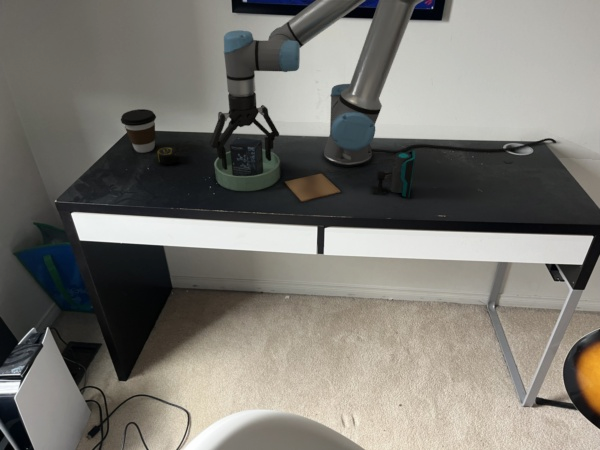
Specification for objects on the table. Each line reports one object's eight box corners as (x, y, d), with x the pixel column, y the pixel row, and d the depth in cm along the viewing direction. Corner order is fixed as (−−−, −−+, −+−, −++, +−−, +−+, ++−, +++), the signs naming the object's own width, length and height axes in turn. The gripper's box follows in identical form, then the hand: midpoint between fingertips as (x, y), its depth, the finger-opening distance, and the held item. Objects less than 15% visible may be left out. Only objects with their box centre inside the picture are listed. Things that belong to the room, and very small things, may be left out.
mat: (321, 174, 142) (321, 173, 142) (340, 192, 133) (340, 191, 133) (284, 182, 138) (284, 181, 138) (301, 201, 129) (301, 200, 129)
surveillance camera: (377, 147, 129) (414, 149, 128) (373, 185, 136) (409, 188, 135) (376, 156, 125) (415, 158, 123) (372, 195, 131) (409, 198, 130)
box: (232, 177, 141) (229, 144, 135) (240, 168, 145) (237, 136, 139) (256, 180, 139) (254, 147, 133) (263, 172, 143) (262, 139, 137)
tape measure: (180, 164, 149) (179, 153, 146) (158, 167, 147) (156, 156, 145) (178, 155, 154) (176, 145, 152) (157, 158, 152) (155, 148, 150)
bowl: (266, 156, 153) (265, 143, 150) (290, 182, 138) (290, 168, 136) (208, 168, 146) (206, 155, 144) (227, 197, 132) (225, 182, 129)
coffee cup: (136, 141, 164) (128, 107, 157) (166, 142, 162) (160, 109, 156) (122, 155, 155) (113, 120, 148) (154, 156, 153) (146, 121, 147)
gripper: (279, 82, 135) (280, 150, 147) (192, 94, 127) (202, 166, 138) (289, 90, 130) (290, 160, 141) (200, 103, 121) (209, 177, 133)
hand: (246, 163), depth 140 cm, fingers open, 13 cm apart
